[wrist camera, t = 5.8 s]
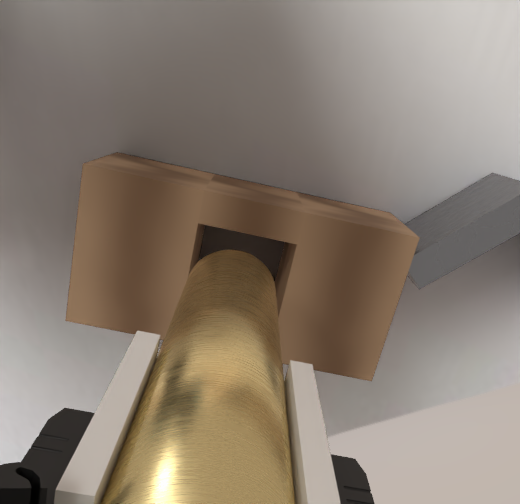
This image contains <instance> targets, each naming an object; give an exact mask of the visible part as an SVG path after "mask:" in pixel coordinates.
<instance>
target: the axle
mask: <svg viewBox="0 0 520 504" xmlns="http://www.w3.org/2000/svg"><path fill="white" fill-rule="evenodd" d="M101 504H295V495H294V484H293V474H292V463H291V452H290V441H289V430H288V419H287V408H286V397H285V386H284V375H283V365H282V354H281V343H280V332H279V321H278V310H277V299H276V289H275V283H274V279H273V277H272V274H271V273H270V271H269V269H268V268H267V267H266V265H265V264H264V263H263V262H262V261H260V260H259V259H258V258H256V257H255V256H253V255H251V254H249V253H246V252H243V251H239V250H221V251H217V252H214V253H211V254H209V255H207V256H205V257H204V258H202V259H201V260H200V261H199V262H198V263H197V264H196V265H195V266H194V267H193V268H192V270H191V272H190V274H189V276H188V278H187V281H186V283H185V286H184V289H183V291H182V294H181V296H180V299H179V302H178V304H177V307H176V309H175V312H174V314H173V317H172V320H171V322H170V325H169V327H168V330H167V333H166V335H165V338H164V340H163V343H162V346H161V348H160V351H159V353H158V356H157V358H156V361H155V364H154V367H153V369H152V372H151V374H150V377H149V379H148V382H147V385H146V387H145V390H144V392H143V395H142V398H141V400H140V403H139V405H138V408H137V411H136V413H135V416H134V418H133V421H132V424H131V426H130V429H129V431H128V434H127V436H126V439H125V442H124V444H123V447H122V449H121V452H120V455H119V457H118V460H117V462H116V465H115V468H114V470H113V473H112V475H111V478H110V480H109V483H108V486H107V488H106V491H105V493H104V496H103V499H102V501H101Z"/></svg>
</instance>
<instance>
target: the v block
mask: <svg viewBox="0 0 520 504" xmlns="http://www.w3.org/2000/svg"><path fill="white" fill-rule="evenodd" d="M404 225H405V226H407V227H408V228H409V229H410V230H411V231H413V232H414V233H415V234H416V235H417V236H418V237H420V238H419V241H418V244H417V247H416V250H415V253H414V256H413V259H412V262H411V265H410V268H409V271H408V274H407V276H408V277H409V278H410V279H411V280H412V282H413V283H414V284H415V285H416V286H417V287H418V289H421V288H422V287H424V286H426V285H428V284H430V283H431V282H433V281H435V280H437V279H439V278H440V277H442V276H444V275H446V274H448V273H449V272H451V271H453V270H455V269H457V268H458V267H460V266H462V265H464V264H466V263H467V262H469V261H471V260H473V259H475V258H476V257H478V256H480V255H482V254H484V253H485V252H487V251H489V250H491V249H493V248H494V247H496V246H498V245H500V244H502V243H503V242H505V241H507V240H509V239H511V238H512V237H514V236H516V235H518V234H519V233H520V181H518V180H515V179H511V178H508V177H505V176H501V175H498V174H495V173H491V174H490V175H488V176H486V177H485V178H483V179H481V180H480V181H478V182H476V183H474V184H473V185H471V186H469V187H468V188H466V189H464V190H462V191H461V192H459V193H457V194H456V195H454V196H452V197H450V198H449V199H447V200H445V201H444V202H442V203H440V204H438V205H437V206H435V207H433V208H432V209H430V210H428V211H426V212H425V213H423V214H421V215H420V216H418V217H416V218H415V219H413V220H411V221H409V222H408V223H406V224H404Z"/></svg>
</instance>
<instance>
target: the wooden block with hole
mask: <svg viewBox="0 0 520 504" xmlns="http://www.w3.org/2000/svg"><path fill="white" fill-rule="evenodd" d="M205 225H208V226H213V227H218V228H222V229H227V230H232V231H236V232H241V233H246V234H250V235H255V236H260V237H264V238H269V239H274V240H278V241H283V242H285V243H284V247H283V251H282V255H281V259H280V263H279V267H278V271H277V275H276V279H275V289H276V299H277V310H278V321H279V332H280V343H281V354H282V364H287V365H289V363H290V360H293V361H298V362H303V363H308V364H312V365H313V370H317V371H322V372H327V373H332V374H338V375H343V376H348V377H353V378H358V379H363V380H368V381H372V379H373V376H374V373H375V370H376V367H377V364H378V361H379V358H380V355H381V352H382V349H383V346H384V343H385V340H386V337H387V334H388V331H389V328H390V325H391V322H392V319H393V316H394V313H395V310H396V307H397V304H398V301H399V298H400V295H401V292H402V289H403V286H404V283H405V280H406V277H407V274H408V271H409V268H410V265H411V262H412V259H413V256H414V253H415V250H416V247H417V244H418V241H419V238H420V237H418V236H417V235H416V234H415V233H414V232H413V231H411V230H410V229H409V228H408V227H407V226H405V225H404V224H403V223H402V222H401V221H399V220H398V219H397V218H396V217H395V216H394V215H392V214H391V213H389V212H384V211H379V210H375V209H370V208H366V207H361V206H357V205H352V204H348V203H343V202H339V201H334V200H330V199H325V198H321V197H316V196H312V195H307V194H303V193H298V192H294V191H289V190H285V189H280V188H276V187H271V186H267V185H262V184H258V183H253V182H249V181H244V180H240V179H235V178H231V177H226V176H222V175H217V174H212V173H208V172H203V171H199V170H194V169H190V168H185V167H181V166H176V165H172V164H167V163H163V162H158V161H154V160H149V159H145V158H140V157H136V156H131V155H127V154H122V153H118V152H116V153H113V154H110V155H107V156H104V157H101V158H98V159H95V160H92V161H89V162H87V163H84V164H83V167H82V176H81V185H80V194H79V203H78V212H77V221H76V230H75V239H74V249H73V258H72V267H71V276H70V285H69V294H68V303H67V312H66V321H70V322H75V323H80V324H85V325H90V326H95V327H100V328H105V329H110V330H115V331H120V332H125V333H130V334H136V332H137V330H138V331H143V332H148V333H153V334H158V335H160V339H161V340H164V338H165V335H166V333H167V330H168V327H169V325H170V322H171V320H172V317H173V314H174V312H175V309H176V307H177V304H178V302H179V299H180V296H181V294H182V291H183V289H184V286H185V283H186V281H187V278H188V276H189V274H190V272H191V270H192V268H193V267H194V266H195V265H196V264H197V263H198V259H199V254H200V249H201V244H202V238H203V233H204V228H205Z"/></svg>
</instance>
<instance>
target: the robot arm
mask: <svg viewBox="0 0 520 504" xmlns="http://www.w3.org/2000/svg"><path fill="white" fill-rule="evenodd" d="M159 341H160V335H158V334H153V333H148V332H143V331H138V330H137V332H136V334H135V336H134V338H133V340H132V342H131V344H130V346H129V348H128V350H127V352H126V353H125V355H124V357H123V359H122V361H121V363H120V365H119V367H118V369H117V371H116V373H115V375H114V377H113V379H112V381H111V383H110V385H109V387H108V389H107V390H106V392H105V394H104V396H103V398H102V400H101V402H100V404H99V406H98V408H97V410H96V412H95V413H91V412H86V411H80V410H74V409H69V408H64V409H63V410H61V411H60V412H58V413H57V414H55V415H54V416H53V417H51V418H50V419H49V420H48V421H47V423H46V424H45V426H44V427H43V429H42V430H41V432H40V434H39V437H37V438H36V440H35V441H34V443H33V444H32V447H31V449H29V451H28V452H27V454H26V455H25V457H24V458H23V460H22V461H21V462H16V463H8V464H3V465H0V504H101V501H102V499H103V496H104V493H105V491H106V488H107V486H108V483H109V480H110V478H111V475H112V473H113V470H114V468H115V465H116V462H117V460H118V457H119V455H120V452H121V449H122V447H123V444H124V442H125V439H126V436H127V434H128V431H129V429H130V426H131V424H132V421H133V418H134V416H135V413H136V411H137V408H138V405H139V403H140V400H141V398H142V395H143V392H144V390H145V387H146V385H147V382H148V379H149V377H150V374H151V372H152V369H153V367H154V364H155V361H156V358H157V352H158V346H159ZM284 386H285V397H286V408H287V419H288V430H289V441H290V452H291V463H292V474H293V484H294V495H295V504H374V501H373V497H372V494H371V493H370V491H371V490H370V486H369V483H368V480H367V476H366V473H365V472H364V471H363V469H362V468H361V467H360V465H359V464H358V463H357V461H356V460H355V459H353V458H348V457H342V456H337V455H331V454H330V449H329V444H328V439H327V434H326V429H325V424H324V419H323V414H322V409H321V404H320V399H319V394H318V389H317V384H316V380H315V375H314V370H313V365H312V364H308V363H303V362H298V361H293V360H290V363H289V367H288V370H287V374H286V378H285V381H284Z"/></svg>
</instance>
